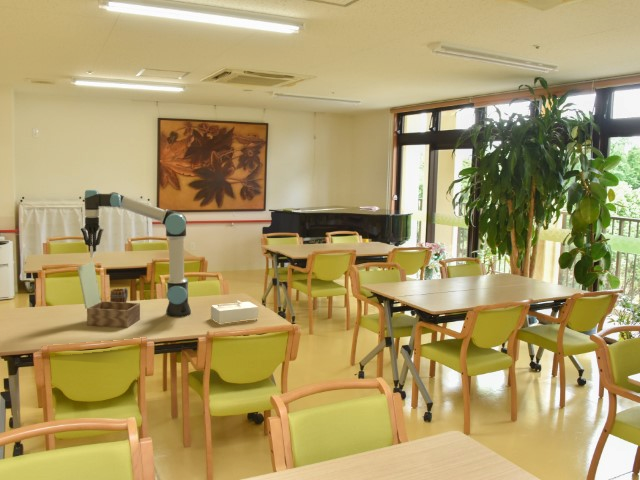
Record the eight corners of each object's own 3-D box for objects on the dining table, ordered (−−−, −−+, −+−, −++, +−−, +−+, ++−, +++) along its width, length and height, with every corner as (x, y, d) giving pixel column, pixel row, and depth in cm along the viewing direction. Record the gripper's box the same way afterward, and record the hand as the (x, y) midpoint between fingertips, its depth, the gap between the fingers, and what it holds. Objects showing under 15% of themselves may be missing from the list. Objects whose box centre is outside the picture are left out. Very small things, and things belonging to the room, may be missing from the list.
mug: (121, 316, 359) (121, 292, 357) (105, 315, 361) (105, 291, 359) (134, 310, 374) (134, 287, 372) (119, 309, 376) (119, 286, 374)
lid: (93, 261, 351) (92, 262, 351) (78, 266, 333) (77, 267, 333) (101, 301, 353) (99, 301, 353) (86, 308, 336) (85, 308, 336)
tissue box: (257, 320, 360) (258, 303, 359) (219, 325, 348) (219, 307, 346) (248, 314, 372) (248, 298, 371) (210, 319, 360) (211, 301, 358)
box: (140, 319, 353) (139, 303, 351) (127, 327, 335) (127, 310, 334) (101, 317, 355) (101, 301, 354) (87, 325, 337) (86, 308, 336)
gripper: (105, 216, 341) (106, 256, 344) (84, 215, 342) (84, 255, 345) (99, 217, 334) (100, 258, 337) (77, 216, 335) (78, 257, 338)
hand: (92, 257), depth 341 cm, fingers closed
